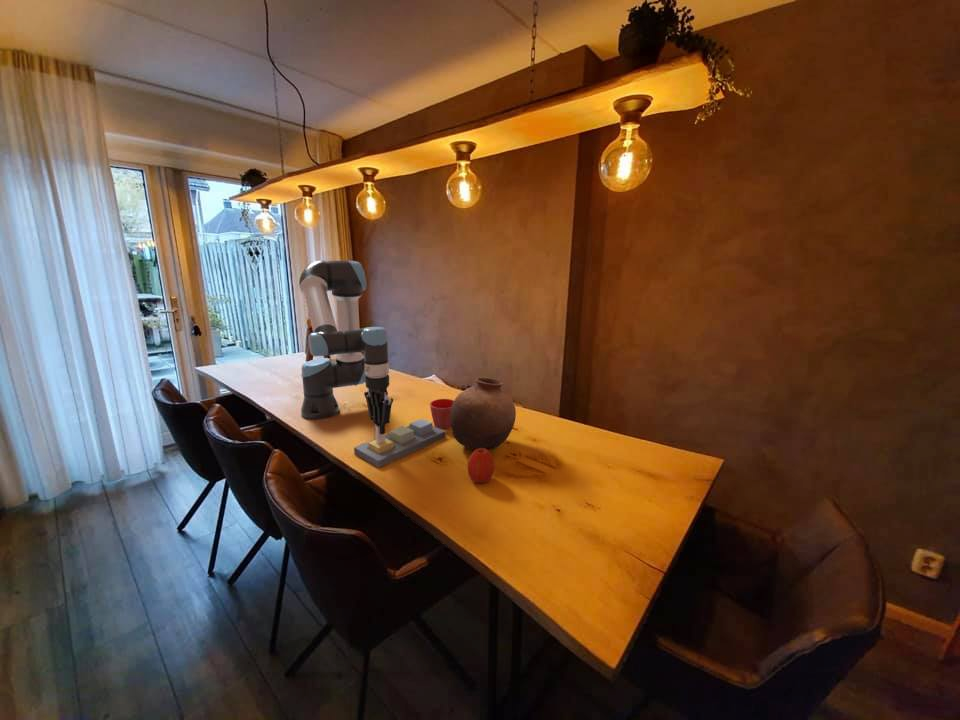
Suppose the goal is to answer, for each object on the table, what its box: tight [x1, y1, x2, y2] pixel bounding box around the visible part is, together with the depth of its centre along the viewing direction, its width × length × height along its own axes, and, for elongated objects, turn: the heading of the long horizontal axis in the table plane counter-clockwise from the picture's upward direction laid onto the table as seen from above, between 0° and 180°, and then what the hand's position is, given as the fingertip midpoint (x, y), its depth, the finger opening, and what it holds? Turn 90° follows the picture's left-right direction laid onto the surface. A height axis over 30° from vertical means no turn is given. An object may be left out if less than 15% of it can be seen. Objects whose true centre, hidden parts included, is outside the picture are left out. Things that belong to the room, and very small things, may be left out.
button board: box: [353, 425, 447, 469], centre depth 136 cm, size 14×30×2 cm, turn 140°
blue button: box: [409, 418, 433, 436], centre depth 143 cm, size 6×6×4 cm
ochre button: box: [367, 438, 394, 454], centre depth 129 cm, size 6×6×4 cm
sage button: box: [389, 425, 414, 445], centre depth 136 cm, size 6×6×4 cm
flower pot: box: [429, 398, 455, 430], centre depth 153 cm, size 11×11×10 cm
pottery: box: [450, 377, 517, 451], centre depth 134 cm, size 23×23×25 cm
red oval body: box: [467, 448, 496, 484], centre depth 114 cm, size 8×8×11 cm
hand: (380, 441), depth 129 cm, fingers closed
